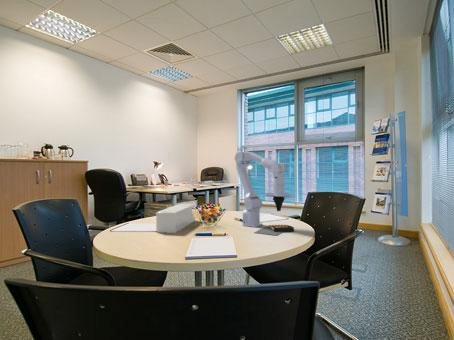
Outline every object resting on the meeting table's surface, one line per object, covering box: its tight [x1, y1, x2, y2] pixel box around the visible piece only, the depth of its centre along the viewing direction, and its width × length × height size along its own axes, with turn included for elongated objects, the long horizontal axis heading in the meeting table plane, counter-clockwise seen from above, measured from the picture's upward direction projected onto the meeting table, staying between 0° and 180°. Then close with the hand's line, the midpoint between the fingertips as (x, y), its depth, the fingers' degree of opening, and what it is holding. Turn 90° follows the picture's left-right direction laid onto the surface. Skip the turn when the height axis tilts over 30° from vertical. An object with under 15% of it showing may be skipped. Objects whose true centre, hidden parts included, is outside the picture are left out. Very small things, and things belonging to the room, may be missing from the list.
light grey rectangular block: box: [155, 203, 196, 234], centre depth 151 cm, size 32×11×11 cm, turn 168°
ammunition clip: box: [269, 223, 295, 232], centre depth 140 cm, size 11×2×12 cm
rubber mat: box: [254, 225, 284, 237], centre depth 137 cm, size 12×16×1 cm
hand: (278, 210), depth 138 cm, fingers closed
